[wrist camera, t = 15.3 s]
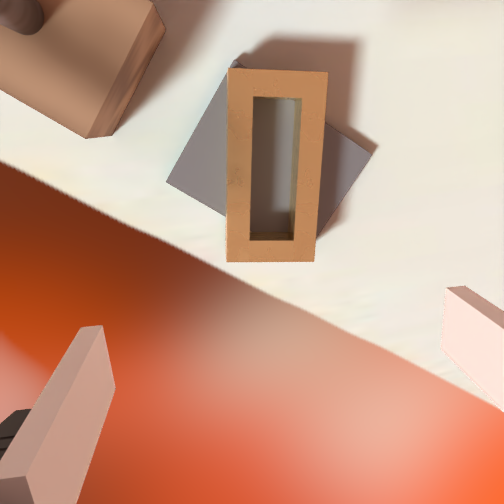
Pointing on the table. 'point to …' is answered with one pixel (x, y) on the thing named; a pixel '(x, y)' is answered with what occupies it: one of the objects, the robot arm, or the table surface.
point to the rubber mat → (263, 163)
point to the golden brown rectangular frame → (302, 169)
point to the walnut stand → (77, 57)
